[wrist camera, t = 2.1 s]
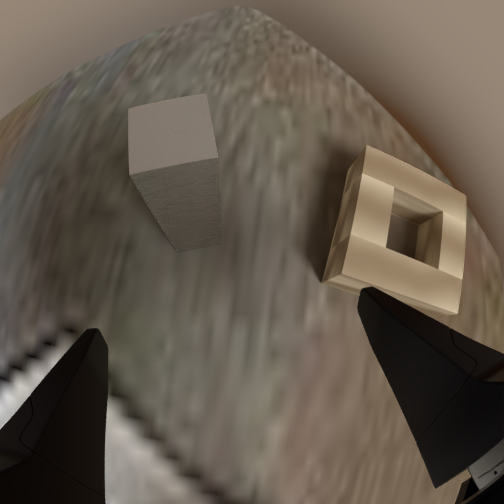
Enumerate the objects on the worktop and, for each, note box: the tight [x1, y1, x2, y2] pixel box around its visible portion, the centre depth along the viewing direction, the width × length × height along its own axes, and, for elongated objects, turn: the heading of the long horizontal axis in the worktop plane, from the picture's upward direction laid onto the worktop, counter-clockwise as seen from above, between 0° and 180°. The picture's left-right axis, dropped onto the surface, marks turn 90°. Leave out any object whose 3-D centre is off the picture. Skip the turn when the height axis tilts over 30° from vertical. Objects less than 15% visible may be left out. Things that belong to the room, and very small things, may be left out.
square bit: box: [128, 93, 221, 252], centre depth 18 cm, size 4×4×13 cm
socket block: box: [321, 145, 466, 317], centre depth 23 cm, size 11×11×4 cm
